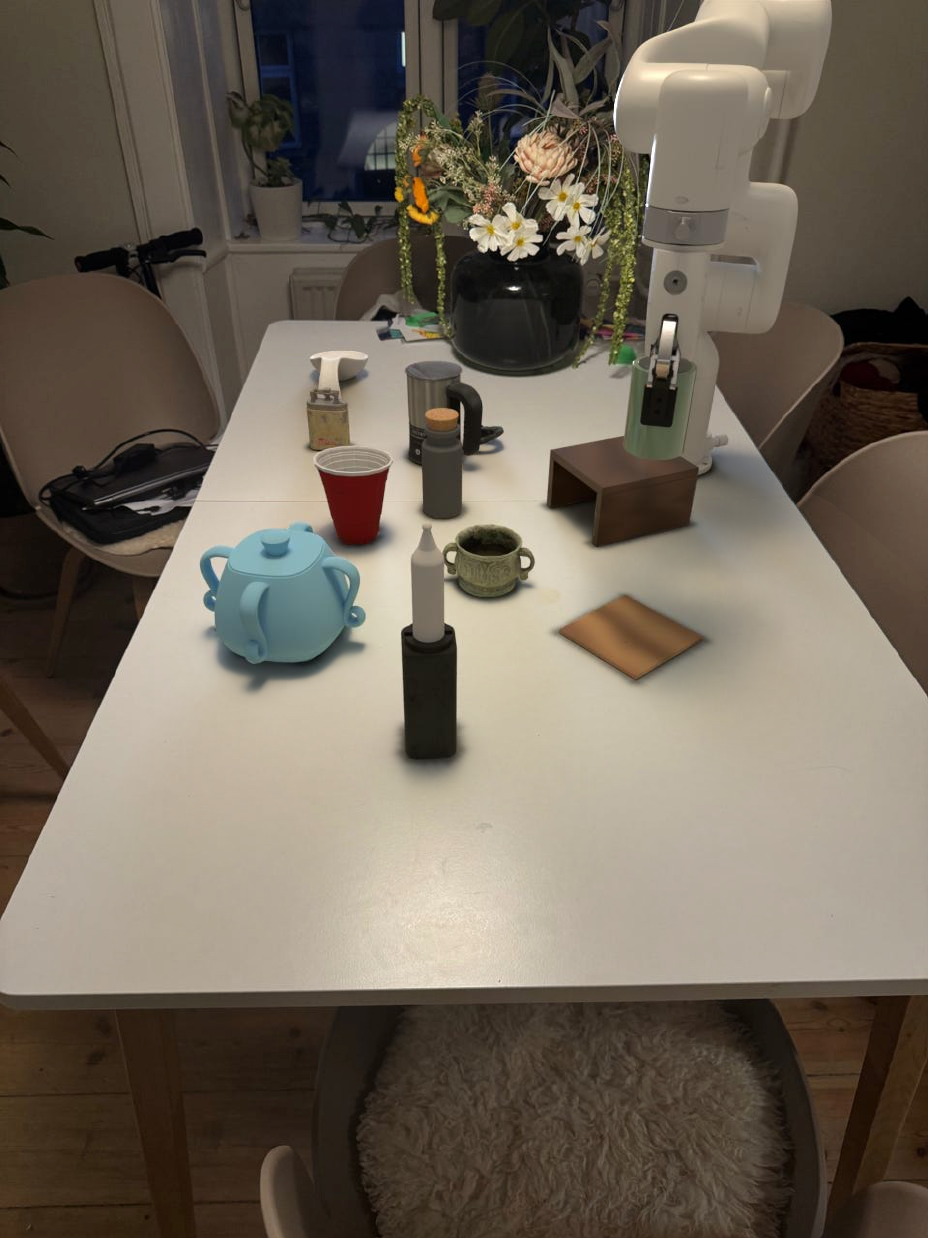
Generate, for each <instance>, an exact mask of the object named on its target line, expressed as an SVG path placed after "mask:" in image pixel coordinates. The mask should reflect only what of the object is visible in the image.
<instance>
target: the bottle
mask: <svg viewBox="0 0 928 1238" xmlns="http://www.w3.org/2000/svg"><path fill="white" fill-rule="evenodd" d="M458 416H459V414H458V412H457V411H455V410H452V409H447V408H437V409H432V410H429V411H427V412H426V413H425V417H426V422H427V423H426V424H425V425H424V433H425V435H426V436H428V438H426V439H425V440H424V441H423V443H422V464H421V478H422V479H421V482H422V485H421V486H422V487H421V489H422V510H423V513H424V514H425V515H426V516H427V517H430V518H433V519H442V520H443V519H452V518H455V517H456V516H459V515H460V514H461V513H462V509H463V456H462V452H463V450H462V446H463V441H462V440H461V441H460V440H459V439H458V438H456V436H458V435H459V433H460V426H459V424H458V423H457V421H458Z"/></svg>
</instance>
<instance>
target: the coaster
mask: <svg viewBox="0 0 928 1238" xmlns="http://www.w3.org/2000/svg"><path fill="white" fill-rule="evenodd" d="M558 633H559V634H561V635H563V636H564V637H566V638H567V639H569V640H570V641H571V642H574V643H575V644H577V645H579V646H580V647H582V648H583V649H585V650H587V651H588V652H590V653H592V654H593V655H594V656H597V657H598V658H600V659H601V660H603V661H605V662H606V663H608V664H609V665H611V666H612V667H613V668H616V669H618V671H621V672H622V673H624V674H625V675H627V676H629V677H630V678H631V679H633V680H635V681H636V680H638V679H640V678H642V677H644V675H646V674H648V673H650V672H651V671H653V670H655V669H656V668H658V667H660V666H661V665H663V664H664V663H666V662H668V661H669V660H671V659H672V658H675V657H676V656H678V655H679V654H681V653H683V652H685V651H686V650H688V649H689V648H691V647H693V646H695V645H696V644H698V643H700V642H701V641H702V640H703V636H702V635H700V634H698V633H697V632H695V631H693V630H691V629H689V628H688V627H685V625H682V624H680V623H678V622H677V621H675V620H673V619H671V618H670V617H667V616H665V615H663V614H662V613H660V612H658V611H656V610H655V609H653V608H651V607H649V606H647V605H646V604H643V603H642V602H640V601H638V600H636V599H635V598H632V597H631V596H629V595H627V594H623V595H622V596H620V597H618V598H615V599H614V600H612V601H610V602H608V603H607V604H605V605H602V606H600V607H599V608H597V609H595V610H593V611H590V612H589V613H587V614H585V615H584V616H582V617H579V618H578V619H576V620H574V621H572V622H570V623H567V624H566V625H564V626H562V627H560V628H558Z"/></svg>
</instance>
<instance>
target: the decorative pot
mask: <svg viewBox="0 0 928 1238" xmlns="http://www.w3.org/2000/svg"><path fill="white" fill-rule="evenodd" d="M213 558H214V559H215V558H222V559H227V561H226V562H225V564H224V568H223V571H222V574H221V576H220V579H219V577H218V576H217V574H216V572H215V570H214V568H213V566H212V563H211V559H213ZM199 569H200V572H201V575H202V578H203V580H204V581H205V583H206V585H207V587H208V588H209V589H208V590H207V591H205V593H204V595H203V599H202V600H203V601H202V602H203V605H204V607H205V608H206V609H207V610H209V611H211V612H212V613H214V627H215V628H214V629H215V632H216V635H217V637H218V639H219V641H220V642H221V643H222V644H223V645H224V646H226V647H227V648H228V649H229V650H230V651H232V652H233V653H235V654H236V655H238V656H240V657H244V658H245V660H246V661H247V662H248V663H250V664H260V663H262V662H273V663H300V662H309V661H311V660H313V659H315V658H316V657H317V656H319V655H321V654H322V653H323V652H325V651H326V650H327V649H328V648H329V647H330V646H331V645H332V644H333V643H334V642H335V640H336V639H337V638H338V636H339V635H340V634H341V632H342V630H343V629H344V627H348V628H351V629H353V628H358V627H361V626H362V625H363V624H364V623H365V621H366V618H367V617H366V616H367V615H366V611H365V610H364V608H363V607H361V606H360V605H354V604H355V601H356V599H357V596H358V593H359V589H360V586H361V576H360V572H359V569H358V568H357V567H356V566H355V564H353V562H351V561H349V560H348V559H345V558H343V557H339V556H336V555H335V554H334V552H333V551H332V549H331V547H330V546H329V545H328V543H327V542H326V540H324V538H323V537H322V536H321V535H319V534H317V533H315V532H314V529H313V527H312V525H311V524H309V523H307V522H304V521H296V522H293V523H291V524H290V526H289V527H288V528H265V529H259V530H256V531H254V532H252V533H251V534H249V535H247V536H246V537H244V538H243V539H242V540H241V541H240V542H239V543H238V544H237V545H236V546H235V547H231V546H228V545H216V546H212V547H210V548H209V549H207V550H206V551H205V552H204V553H203V554H202V555H201V557H200V561H199ZM346 577H347V578H348V580H349V585H348V581H347V578H346ZM213 597H214V598H215V599H214V598H213Z"/></svg>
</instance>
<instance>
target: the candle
mask: <svg viewBox="0 0 928 1238" xmlns="http://www.w3.org/2000/svg"><path fill="white" fill-rule="evenodd" d="M432 527H433V525H432V524H431V522H430V521H429V522H428V521H425V522H424V523H423V524H421V529H422V533H421V536H420V539H419V542H418V546H417V547H416V548H415V549H414V551H413V552H412V553H411V556H410V579H411V580H410V581H411V582H410V583H411V585H410V586H411V617H412V618H411V619H412V621H411V622H412V623H410V624H409V625H406V626H404V627H403V628H402V629H401V632H400V645H401V646H400V647H401V665H402V666H401V667H402V668H401V670H402V698H403V722H404V726H403V727H404V745H405V746H404V747H405V749H404V750H405V754H406V756H407V757H409V758H410V759H413V760H429V759H430V760H431V759H445V758H451V757H452V756H454V755H455V754H456V752H457V733H458V731H457V725H458V724H457V721H458V720H457V719H458V717H457V715H458V714H457V711H458V701H457V700H458V695H457V694H458V644H457V636H456V630H455V628H454V626H452V625H450V624H448V623H446V622H445V564H444V556H443V554H442V552H443V551H442V550H440V549H439V547H438V546H437V544H436V541H435V539H434V536H433V533H432Z"/></svg>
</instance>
